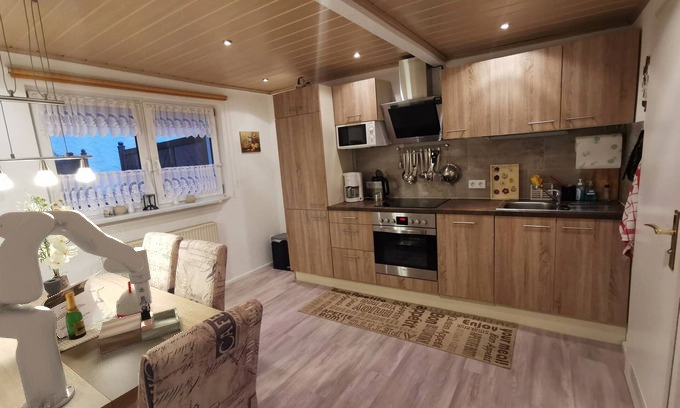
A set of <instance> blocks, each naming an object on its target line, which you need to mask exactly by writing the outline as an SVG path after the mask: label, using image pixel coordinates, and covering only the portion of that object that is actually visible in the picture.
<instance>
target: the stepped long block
mask: <svg viewBox="0 0 680 408" xmlns="http://www.w3.org/2000/svg"><path fill="white" fill-rule="evenodd" d="M153 316H154V328H152V329H149V330H145V331H142V330H141V322H143V321H142V317H141V313H137V314H133V315H129V316H125V317H121V318H119V317H117V318H114V319H109V320H106V321H103V322H102V323H101V326H100V327H101V328H100V331H99V335H98V338H97V341H98V347H99V353H100V355H102V354H105V353H108V352H112V351H116V350H118V349H122V348H125V347H129V346H132V345H135V344H139V343H141V342H146V341H149V340H152V339H155V338H156V339H157V338H159V337H162V336H166V335H169V334H172V333H176V332H179V331H181V326H180V320H179V315H178V311H177V307H173V308H170V309H166V310H162V311H158V312H153Z"/></svg>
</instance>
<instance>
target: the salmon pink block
mask: <svg viewBox="0 0 680 408" xmlns="http://www.w3.org/2000/svg"><path fill="white" fill-rule="evenodd" d="M152 328H154V327H153V321H152V319H150V320H147V321H143V322H141V330H142V331H145V330H149V329H152Z"/></svg>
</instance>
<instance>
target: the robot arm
mask: <svg viewBox="0 0 680 408" xmlns="http://www.w3.org/2000/svg"><path fill="white" fill-rule="evenodd" d="M49 236H63V237H65V238H66V239H67V240H68V241H70V242H72V244H74V245H75V246H77V248H79V249H81V250H82V251H83V252H85V253H86V254H90V255H94V256H98V257H103V258H105V259H104V261H103V265H102V266H103V269H104V270H105V271H106V272H107V273H110V274H128V277H129V281H130V283H131V285H133V286H134V287H133V288H135V293H136V298H137V302H138V305H139V306H140V307H141V317H142V321H145V320H149V319H151V315H150V312H151V304H152V303H153V299H152V298H153V297H152V292H151V286H150V282H149V281H150V280H151V279H152V277H151V276H152V275H151V271H150V270H151V269H150V263H149V258H148V253H147V249H146V248H144V247H132V246H131V245H129V244H127V243H126V242H124V241H121V240H120V239H118V238H115V237H113V236H111V235H108V234H106V233H105V232H104V231H102V230H101V228H100V227H98V226H97V225H96V224H94V223H93V222H92V221H91V220H90V219H89V218H87V217H86V215H84V214H83V213H82V212H80V211H78V210H72V209H64V210H63V209H62V210H61V209H58V210H42V211H12V212H4V213H3V214H0V238H1V239H4V240H3V241H2V242H1V244H0V339H2V338H3V339H12V340H16V342H17V344H16V350H15V360H16V365H17V369H18V372H19V377H20V381H21V385H22V388H23V394H24V398H25V403H23V405H22V407H21V408H61V407H62V406H64V405H65V404H66V403H68V402H69V401H70V400H71V399H72V398H73V397H74V395H75V393H76V390H75V386H73V385H72V384H68V382H67V378H66V374H65V370H64V365H63V360H62V355H61V351H60V347H59V342H58V339H57V333H56V329H57V317H56V314H55V313H54V311H52V310H51V308H49V307H47V306H43V305H32V303H34V302H36V301H38V300H39V299H40V298H41V297H42V295H44V290H45V289H44V284H43V282H44V280H43V278H42V277H43V276H42V271H41V267H40V262H39V250H40V248H41V246H42V244H43V243H44V241H46V239H47V238H49Z"/></svg>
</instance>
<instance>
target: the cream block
mask: <svg viewBox="0 0 680 408" xmlns="http://www.w3.org/2000/svg"><path fill="white" fill-rule="evenodd" d="M153 313H154V311H152V310H151V311H150V315H151V319H152V321H153V327H154V316H153ZM149 320H150V319H149ZM145 321H147V320H145Z"/></svg>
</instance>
